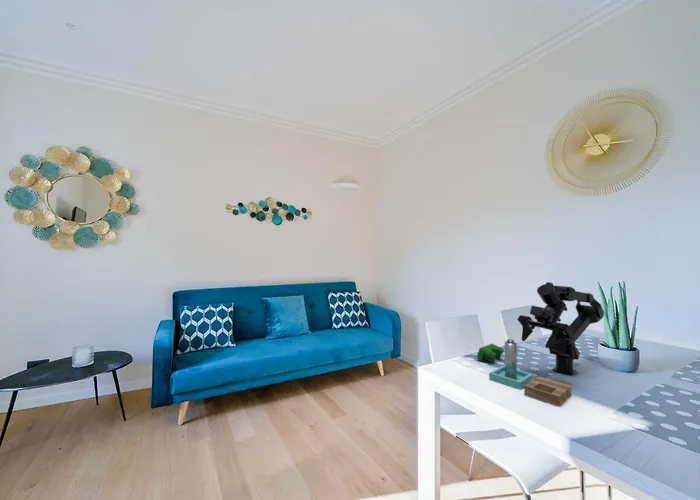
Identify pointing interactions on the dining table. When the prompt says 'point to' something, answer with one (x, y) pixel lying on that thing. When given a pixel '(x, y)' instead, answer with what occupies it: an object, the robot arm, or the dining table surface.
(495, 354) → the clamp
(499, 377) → the tray
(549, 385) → the socket block
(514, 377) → the grey capped bottle
